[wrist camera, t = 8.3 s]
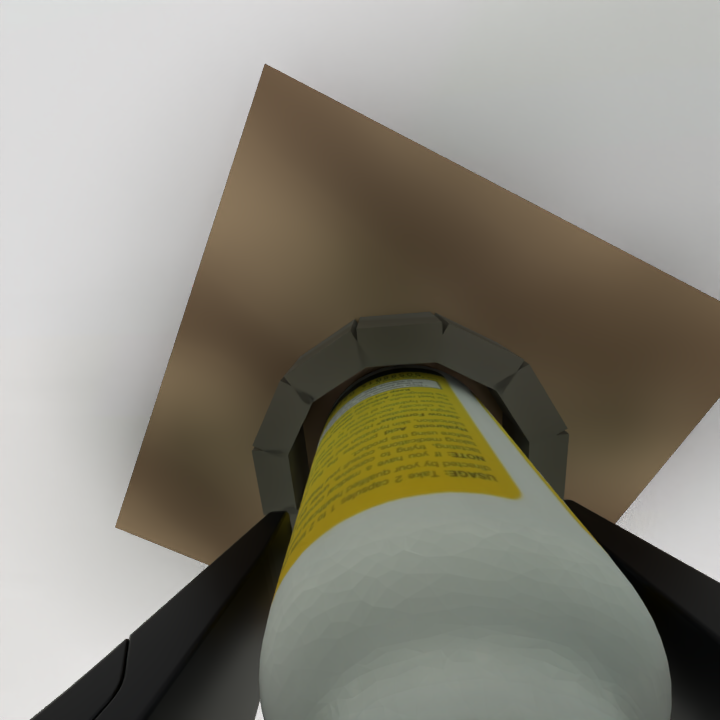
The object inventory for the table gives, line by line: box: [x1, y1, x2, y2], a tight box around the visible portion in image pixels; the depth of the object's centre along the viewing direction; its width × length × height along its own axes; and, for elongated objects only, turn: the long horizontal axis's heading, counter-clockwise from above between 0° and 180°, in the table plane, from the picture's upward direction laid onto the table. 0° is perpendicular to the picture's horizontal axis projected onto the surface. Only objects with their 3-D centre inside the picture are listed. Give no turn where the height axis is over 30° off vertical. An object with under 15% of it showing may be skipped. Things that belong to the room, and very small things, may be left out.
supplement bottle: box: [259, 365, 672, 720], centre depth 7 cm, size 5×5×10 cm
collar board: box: [115, 64, 720, 565], centre depth 11 cm, size 16×16×3 cm
